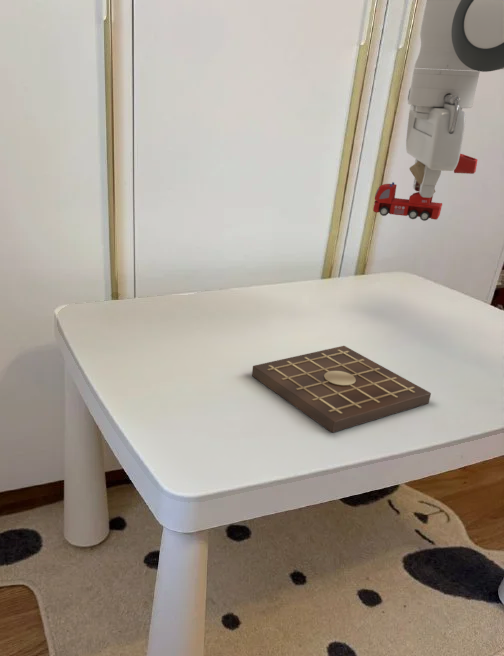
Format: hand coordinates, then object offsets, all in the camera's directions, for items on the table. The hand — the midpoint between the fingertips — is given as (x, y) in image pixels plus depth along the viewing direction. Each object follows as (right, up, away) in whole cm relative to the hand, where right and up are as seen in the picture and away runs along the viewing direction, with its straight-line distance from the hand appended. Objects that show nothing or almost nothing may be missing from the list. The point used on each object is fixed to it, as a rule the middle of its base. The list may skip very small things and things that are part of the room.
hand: (422, 193), depth 96 cm
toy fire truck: (0, -3, +2) cm, 4 cm away
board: (-16, -30, -15) cm, 37 cm away
